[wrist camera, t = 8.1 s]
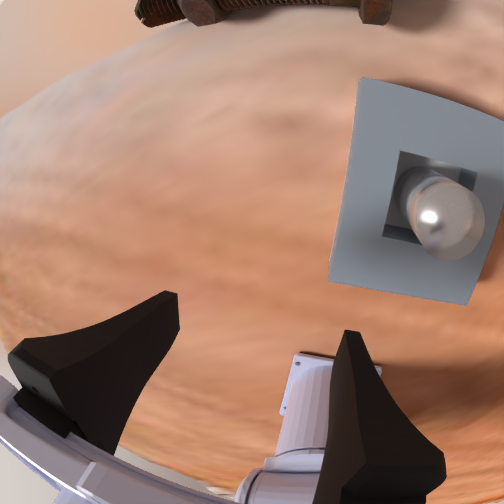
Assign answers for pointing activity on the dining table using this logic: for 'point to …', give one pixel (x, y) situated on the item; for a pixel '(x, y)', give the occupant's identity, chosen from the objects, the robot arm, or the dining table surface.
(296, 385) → the robot arm
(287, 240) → the dining table surface
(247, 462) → the dining table surface
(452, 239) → the pin
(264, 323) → the dining table surface
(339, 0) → the bolt
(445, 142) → the hole block
